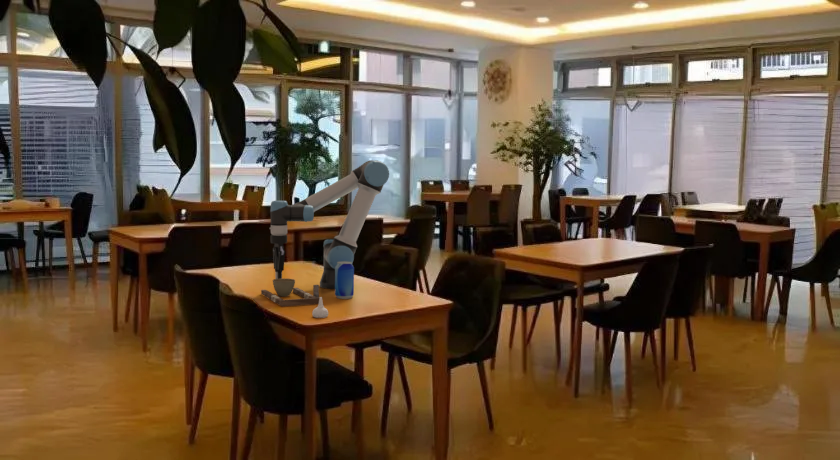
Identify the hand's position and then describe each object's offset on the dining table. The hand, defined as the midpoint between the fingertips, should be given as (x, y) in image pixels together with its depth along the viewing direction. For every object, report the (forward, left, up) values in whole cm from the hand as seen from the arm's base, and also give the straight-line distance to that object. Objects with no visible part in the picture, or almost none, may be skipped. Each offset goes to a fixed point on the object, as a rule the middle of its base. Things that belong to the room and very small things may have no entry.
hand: (278, 285), depth 361 cm
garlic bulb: (-24, +52, -4) cm, 58 cm away
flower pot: (-3, +7, -4) cm, 9 cm away
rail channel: (-9, +14, -3) cm, 17 cm away
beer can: (-31, +10, -4) cm, 33 cm away
